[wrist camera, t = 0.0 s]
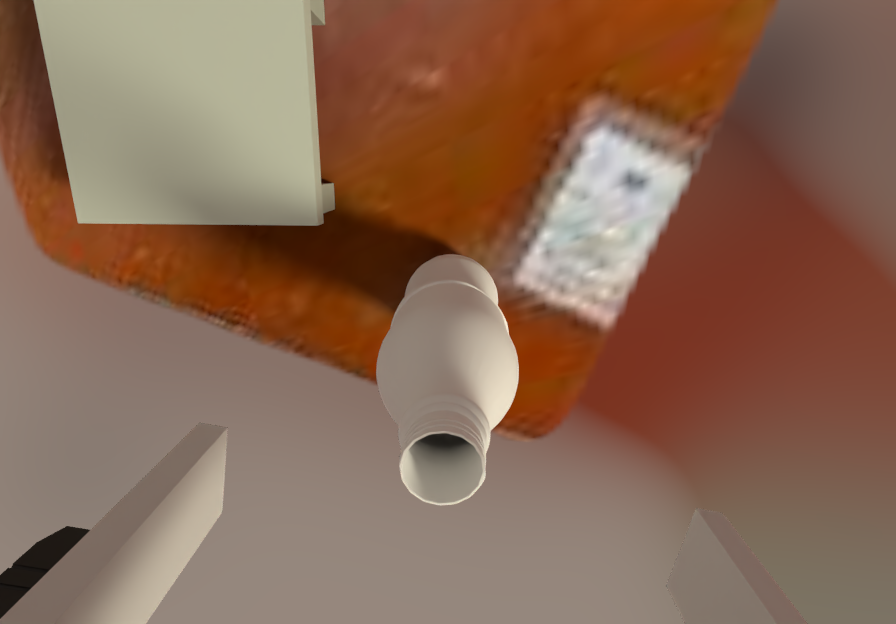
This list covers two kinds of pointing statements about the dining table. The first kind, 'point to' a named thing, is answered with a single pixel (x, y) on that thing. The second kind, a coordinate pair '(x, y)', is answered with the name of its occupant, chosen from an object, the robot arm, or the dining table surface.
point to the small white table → (187, 109)
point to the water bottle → (447, 377)
